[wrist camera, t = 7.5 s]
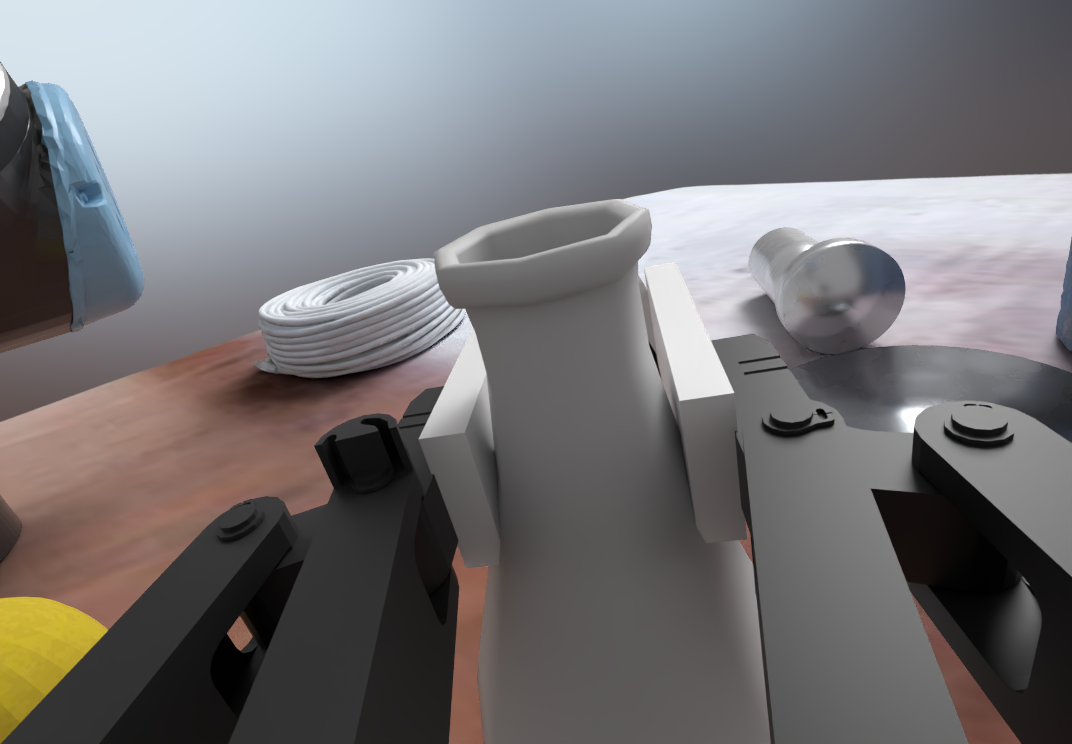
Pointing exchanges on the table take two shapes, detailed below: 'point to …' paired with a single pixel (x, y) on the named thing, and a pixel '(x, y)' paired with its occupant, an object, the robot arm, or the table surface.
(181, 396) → the table surface
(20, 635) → the lemon
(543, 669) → the flask
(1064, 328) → the bottle
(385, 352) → the cable
